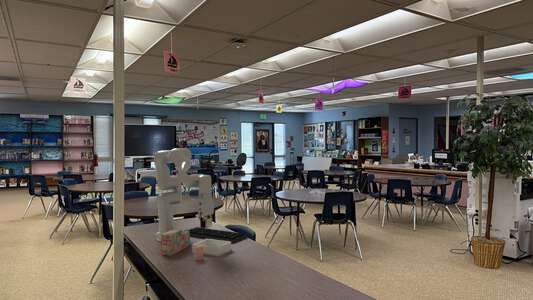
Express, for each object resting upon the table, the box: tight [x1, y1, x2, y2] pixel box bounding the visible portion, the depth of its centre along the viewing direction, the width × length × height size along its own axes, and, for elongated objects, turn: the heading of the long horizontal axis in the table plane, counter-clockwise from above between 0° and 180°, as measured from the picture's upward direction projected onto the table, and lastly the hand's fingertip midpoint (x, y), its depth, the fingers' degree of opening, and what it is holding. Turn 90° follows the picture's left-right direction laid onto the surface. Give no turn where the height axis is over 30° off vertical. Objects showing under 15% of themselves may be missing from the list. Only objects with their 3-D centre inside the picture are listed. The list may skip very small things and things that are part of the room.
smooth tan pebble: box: [193, 246, 204, 262], centre depth 201 cm, size 5×5×7 cm
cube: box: [199, 217, 213, 229], centre depth 217 cm, size 5×5×5 cm
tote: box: [191, 239, 232, 257], centre depth 215 cm, size 18×14×5 cm
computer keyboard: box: [184, 226, 248, 244], centre depth 250 cm, size 45×16×4 cm, turn 58°
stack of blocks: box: [161, 228, 191, 257], centre depth 220 cm, size 21×6×12 cm, turn 162°
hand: (206, 226), depth 217 cm, fingers closed on cube, 4 cm apart
